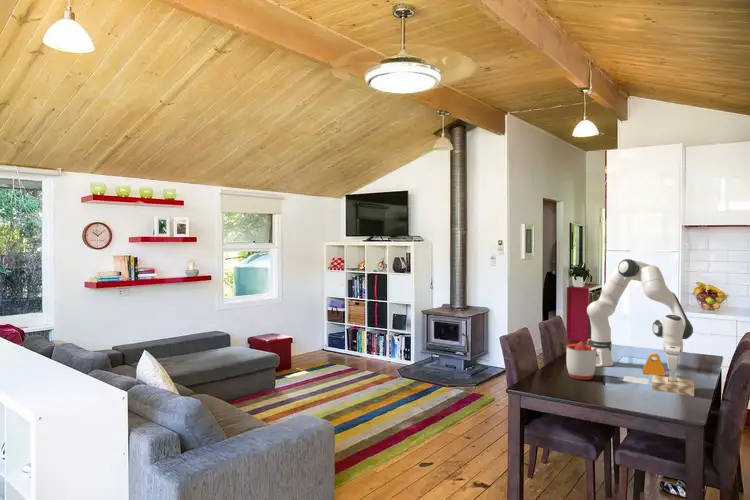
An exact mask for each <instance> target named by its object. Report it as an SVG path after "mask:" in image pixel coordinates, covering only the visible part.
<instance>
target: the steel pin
mask: <svg viewBox="0 0 750 500" xmlns="http://www.w3.org/2000/svg"><path fill="white" fill-rule="evenodd" d="M668 377H669V382H676V378H677V372H676V371H674V377H670V373H669V375H668Z"/></svg>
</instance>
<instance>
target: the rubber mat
mask: <svg viewBox="0 0 750 500" xmlns="http://www.w3.org/2000/svg"><path fill="white" fill-rule="evenodd" d="M622 382H626V383H627V382H628V383H635V384H641V385H649V382H650V378H643V377H636V376H629V375H628V376H627V375H624V377H623V379H622Z"/></svg>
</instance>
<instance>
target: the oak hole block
mask: <svg viewBox="0 0 750 500" xmlns="http://www.w3.org/2000/svg"><path fill="white" fill-rule="evenodd" d="M651 380H652V381H651V382H652V383H651V391H657V392H665V393H672V394H679V395H682V396H688V395H689V397H694V396H695V383H694V380H693V379H688V378H687V379H685V378H678V377H676V382H669V376H662V375H659V376H657V375H652V379H651Z"/></svg>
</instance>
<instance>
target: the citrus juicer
mask: <svg viewBox="0 0 750 500" xmlns="http://www.w3.org/2000/svg"><path fill="white" fill-rule="evenodd" d="M565 347H566V358H565V359H566V360H565V361H566V369H567V372H568V375H569V377H570V378H572V379H576V380H578V381H579V380H581V381H583V380H587V381H588V380H592V379H593V377H594V376H595V371H596V367H597V366H596V358H597V356H598V357H599V355H598V354H597V348H595V349H593V350H591V346H590V345H587V344H586V343H584V342H583V341H579V342H578V343H569V344H566V346H565Z"/></svg>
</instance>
